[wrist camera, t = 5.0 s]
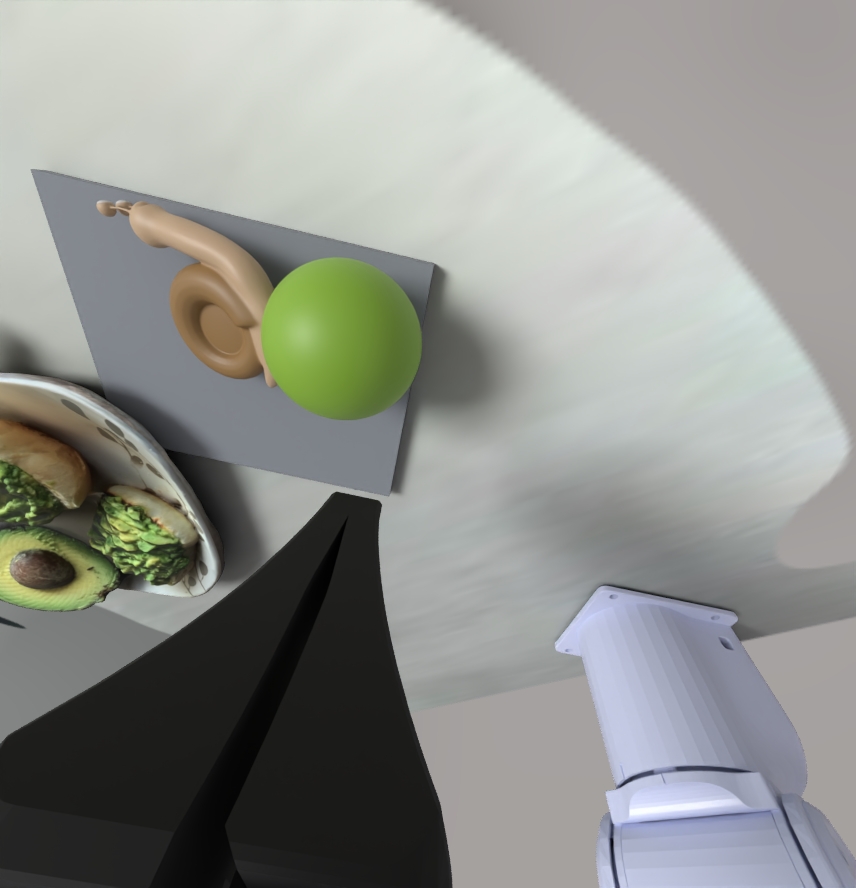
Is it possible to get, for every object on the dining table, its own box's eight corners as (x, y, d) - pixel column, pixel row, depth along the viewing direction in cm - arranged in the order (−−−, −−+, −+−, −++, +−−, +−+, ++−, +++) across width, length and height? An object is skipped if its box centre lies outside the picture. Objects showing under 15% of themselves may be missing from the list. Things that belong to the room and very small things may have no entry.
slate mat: (434, 263, 14) (433, 265, 14) (391, 489, 21) (389, 496, 20) (46, 170, 14) (30, 168, 13) (128, 433, 20) (119, 439, 20)
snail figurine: (379, 238, 8) (14, 197, 11) (383, 467, 12) (110, 391, 14) (450, 224, 12) (174, 197, 15) (436, 395, 16) (217, 347, 19)
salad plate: (-216, 293, 17) (-416, 322, 13) (138, 314, 15) (27, 352, 12) (33, 558, 28) (-36, 615, 24) (253, 585, 26) (215, 650, 23)
